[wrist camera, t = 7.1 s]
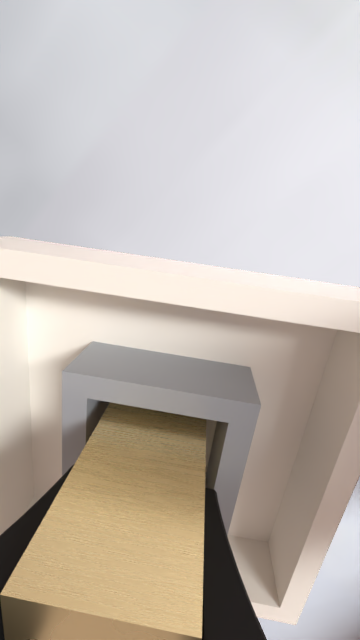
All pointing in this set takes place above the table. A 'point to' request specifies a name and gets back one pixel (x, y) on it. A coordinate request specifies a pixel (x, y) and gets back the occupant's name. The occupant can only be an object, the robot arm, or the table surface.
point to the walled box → (189, 391)
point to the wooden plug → (119, 538)
